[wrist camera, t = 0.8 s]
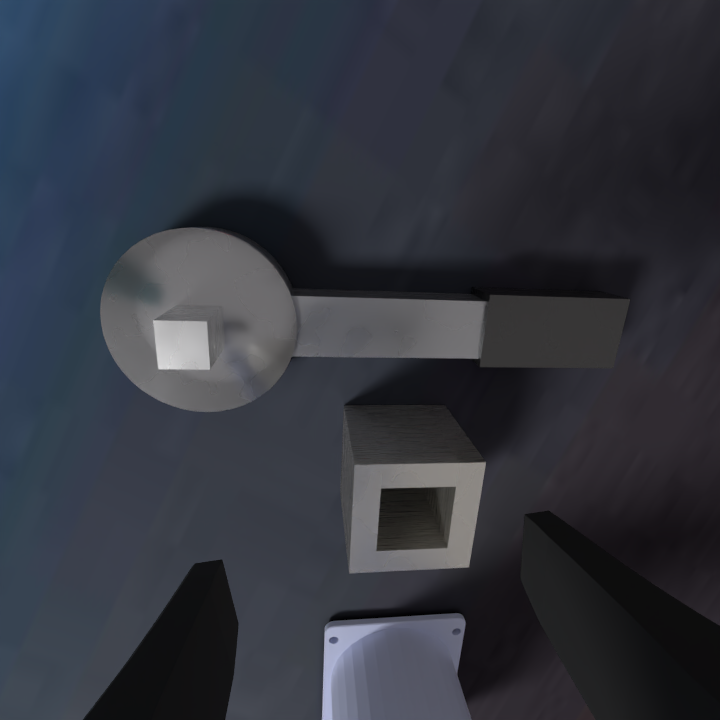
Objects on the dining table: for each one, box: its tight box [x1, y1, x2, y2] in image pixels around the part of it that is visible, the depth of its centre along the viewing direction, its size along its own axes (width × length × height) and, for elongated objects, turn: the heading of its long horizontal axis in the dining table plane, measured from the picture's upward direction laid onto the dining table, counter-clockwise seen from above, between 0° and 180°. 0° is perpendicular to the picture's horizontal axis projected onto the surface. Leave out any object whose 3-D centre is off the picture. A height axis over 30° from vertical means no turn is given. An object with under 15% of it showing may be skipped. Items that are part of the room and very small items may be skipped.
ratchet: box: [100, 227, 630, 412], centre depth 16 cm, size 7×20×4 cm, turn 87°
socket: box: [340, 405, 486, 573], centre depth 18 cm, size 5×5×5 cm
